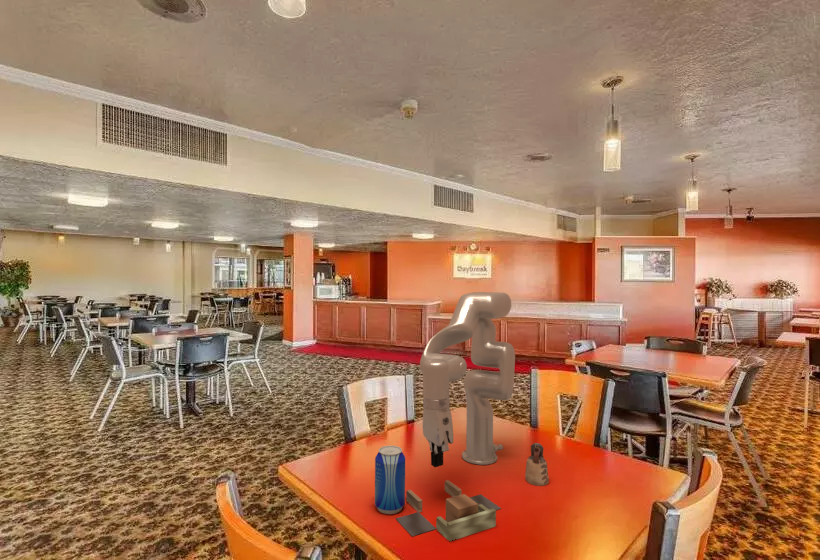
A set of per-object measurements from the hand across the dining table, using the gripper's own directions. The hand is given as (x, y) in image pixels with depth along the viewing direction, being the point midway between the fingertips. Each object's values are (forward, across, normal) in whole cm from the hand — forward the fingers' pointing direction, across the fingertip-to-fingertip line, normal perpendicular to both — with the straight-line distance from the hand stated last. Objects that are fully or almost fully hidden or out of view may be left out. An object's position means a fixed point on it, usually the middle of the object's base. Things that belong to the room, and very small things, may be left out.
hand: (437, 465), depth 122 cm
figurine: (+12, -5, -34) cm, 37 cm away
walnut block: (+10, -14, +2) cm, 17 cm away
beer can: (+10, +2, +14) cm, 17 cm away
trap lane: (+10, -8, +2) cm, 13 cm away
